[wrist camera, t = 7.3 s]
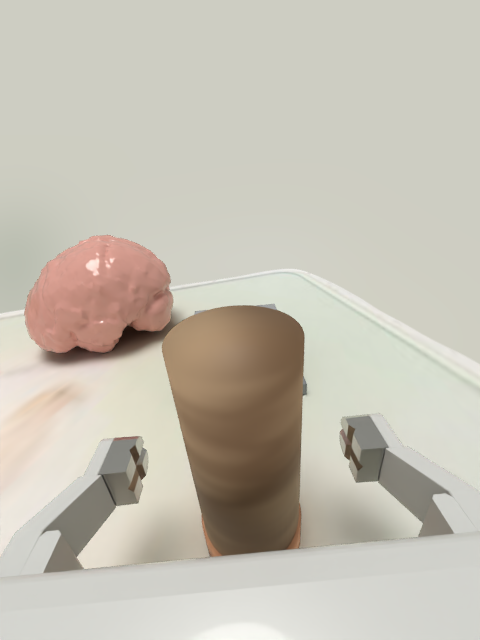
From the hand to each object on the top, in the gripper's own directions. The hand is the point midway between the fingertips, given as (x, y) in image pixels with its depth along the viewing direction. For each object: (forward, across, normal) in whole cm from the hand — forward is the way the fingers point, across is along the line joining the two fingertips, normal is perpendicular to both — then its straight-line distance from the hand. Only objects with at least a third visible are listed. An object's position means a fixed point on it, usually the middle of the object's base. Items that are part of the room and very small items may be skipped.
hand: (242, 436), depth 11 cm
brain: (+22, +15, +6) cm, 27 cm away
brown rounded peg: (0, 0, +6) cm, 6 cm away
